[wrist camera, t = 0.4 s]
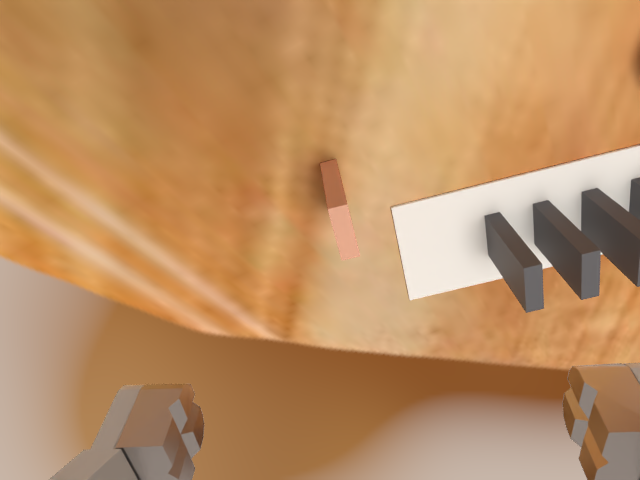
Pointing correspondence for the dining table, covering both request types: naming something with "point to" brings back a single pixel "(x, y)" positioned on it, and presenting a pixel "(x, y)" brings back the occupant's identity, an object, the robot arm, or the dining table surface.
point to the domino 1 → (515, 262)
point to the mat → (513, 203)
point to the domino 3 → (612, 231)
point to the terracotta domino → (339, 210)
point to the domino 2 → (567, 249)
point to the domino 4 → (635, 198)
